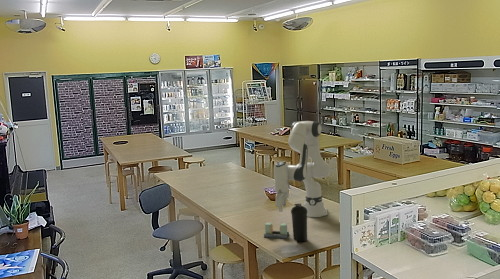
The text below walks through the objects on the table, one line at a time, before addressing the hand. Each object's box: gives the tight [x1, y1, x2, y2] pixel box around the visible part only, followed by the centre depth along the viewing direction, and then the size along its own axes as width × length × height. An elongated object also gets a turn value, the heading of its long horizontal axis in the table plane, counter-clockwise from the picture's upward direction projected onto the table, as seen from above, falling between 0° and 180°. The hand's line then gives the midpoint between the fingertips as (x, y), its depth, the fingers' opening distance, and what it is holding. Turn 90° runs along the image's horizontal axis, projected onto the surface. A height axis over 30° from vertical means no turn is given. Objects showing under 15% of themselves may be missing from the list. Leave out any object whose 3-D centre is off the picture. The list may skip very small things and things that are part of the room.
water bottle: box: [290, 203, 308, 244], centre depth 272 cm, size 10×10×23 cm
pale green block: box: [279, 222, 288, 235], centre depth 279 cm, size 4×4×8 cm
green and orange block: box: [264, 222, 274, 234], centre depth 282 cm, size 4×4×8 cm
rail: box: [263, 230, 290, 241], centre depth 281 cm, size 10×15×3 cm, turn 71°
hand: (282, 208), depth 277 cm, fingers open, 8 cm apart
